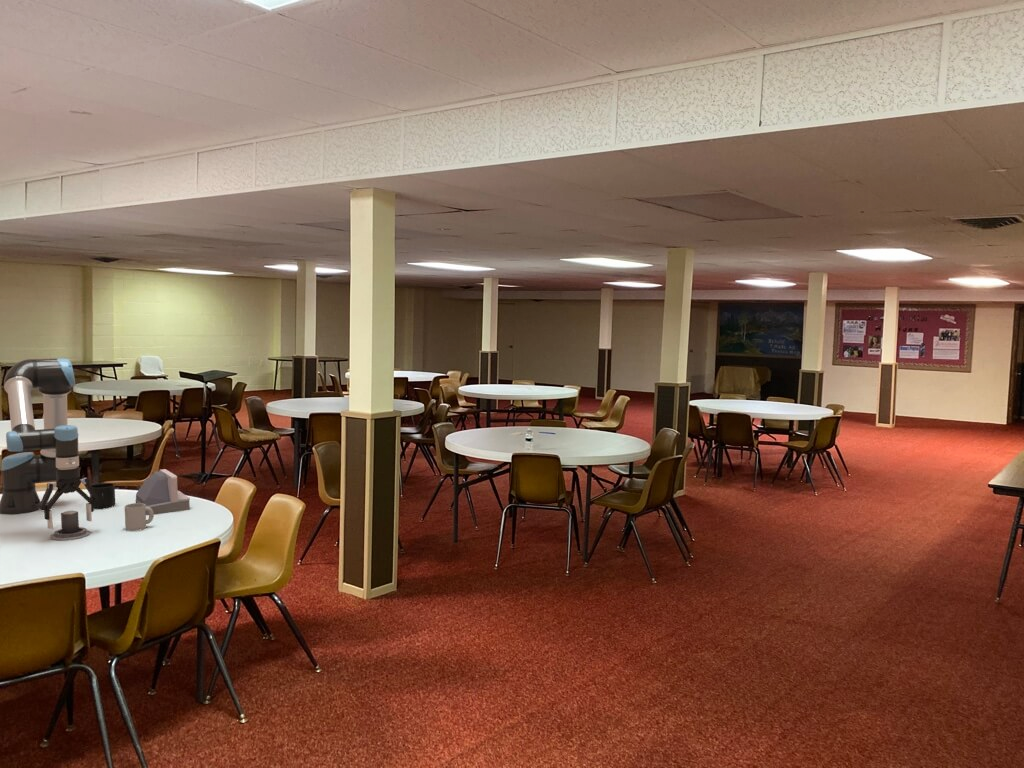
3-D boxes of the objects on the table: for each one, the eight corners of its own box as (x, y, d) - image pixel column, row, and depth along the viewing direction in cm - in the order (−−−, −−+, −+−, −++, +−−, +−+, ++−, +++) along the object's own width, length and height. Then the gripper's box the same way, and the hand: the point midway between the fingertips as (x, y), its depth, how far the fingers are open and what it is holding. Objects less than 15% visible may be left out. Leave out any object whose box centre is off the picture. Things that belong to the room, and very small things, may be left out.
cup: (124, 527, 310) (124, 504, 309) (153, 523, 315) (152, 501, 314) (126, 531, 304) (125, 508, 303) (154, 528, 309) (154, 505, 308)
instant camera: (191, 511, 336) (190, 475, 334) (136, 516, 326) (135, 480, 324) (185, 500, 354) (184, 466, 353) (133, 505, 344) (132, 471, 343)
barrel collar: (44, 535, 297) (44, 531, 297) (81, 528, 307) (81, 524, 307) (58, 542, 289) (58, 537, 289) (96, 535, 299) (96, 530, 298)
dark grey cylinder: (59, 534, 298) (58, 512, 297) (75, 531, 302) (74, 509, 301) (65, 537, 294) (64, 514, 293) (81, 533, 298) (80, 512, 297)
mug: (90, 511, 333) (89, 490, 332) (90, 505, 344) (89, 484, 343) (115, 509, 337) (114, 487, 336) (115, 502, 348) (114, 482, 347)
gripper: (34, 474, 284) (36, 533, 286) (106, 464, 303) (109, 519, 305) (26, 471, 289) (29, 529, 291) (98, 461, 307) (100, 516, 309)
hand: (70, 524), depth 298 cm, fingers open, 13 cm apart
